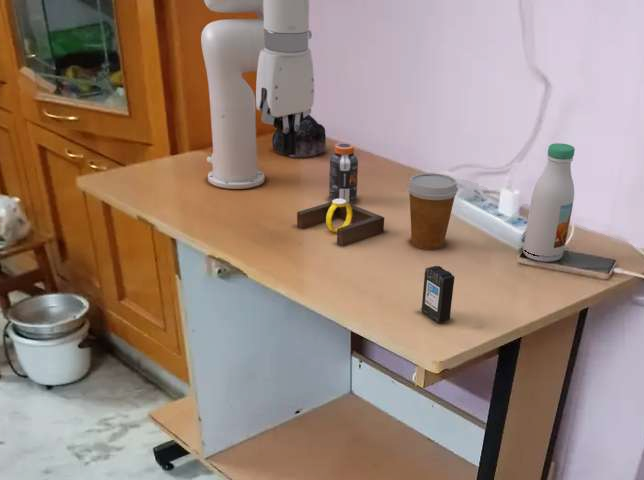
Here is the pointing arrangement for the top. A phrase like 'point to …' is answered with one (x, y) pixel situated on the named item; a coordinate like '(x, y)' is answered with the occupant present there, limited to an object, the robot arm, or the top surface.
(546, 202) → the milk bottle
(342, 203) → the watch
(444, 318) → the ink cartridge
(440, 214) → the disposable coffee cup
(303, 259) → the top surface
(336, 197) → the pill bottle
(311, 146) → the crystal cluster
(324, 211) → the bay
